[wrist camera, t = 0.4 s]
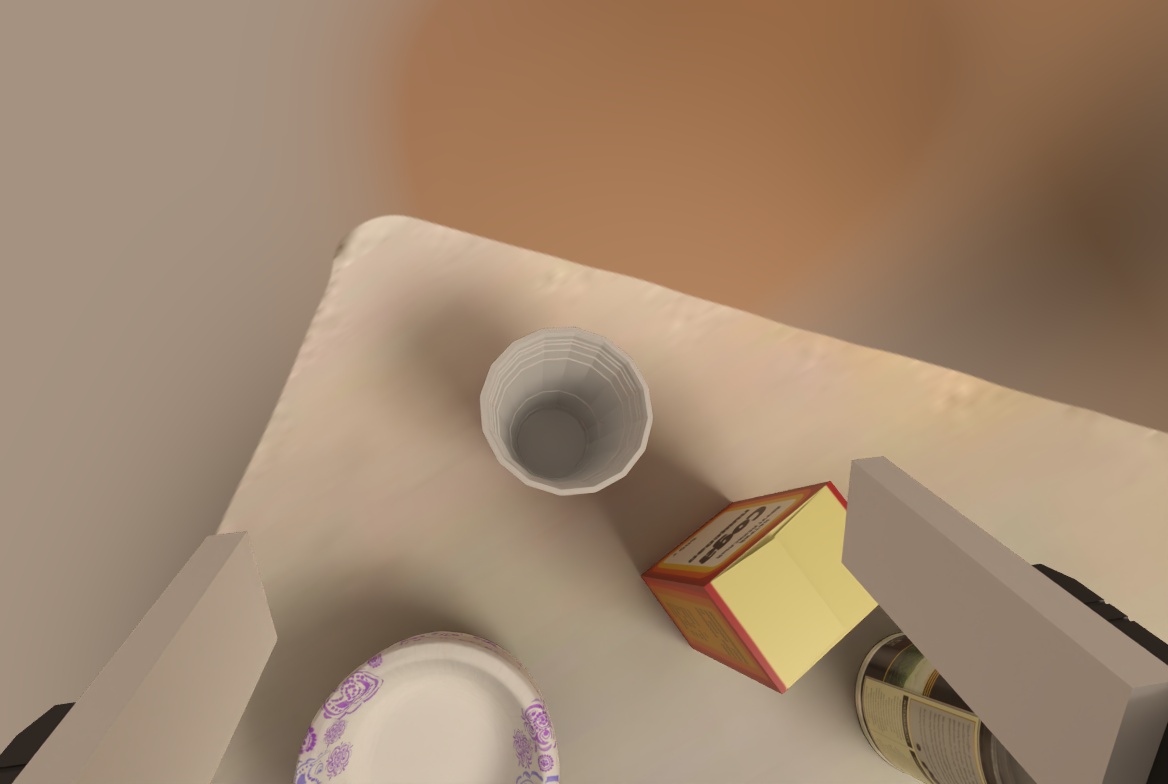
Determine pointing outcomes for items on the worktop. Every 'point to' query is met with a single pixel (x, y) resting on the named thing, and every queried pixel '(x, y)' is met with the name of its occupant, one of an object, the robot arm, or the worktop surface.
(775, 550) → the baking soda box
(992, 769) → the coffee can
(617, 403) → the plastic cup
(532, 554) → the worktop surface
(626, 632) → the worktop surface
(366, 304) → the worktop surface
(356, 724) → the paper bowls
